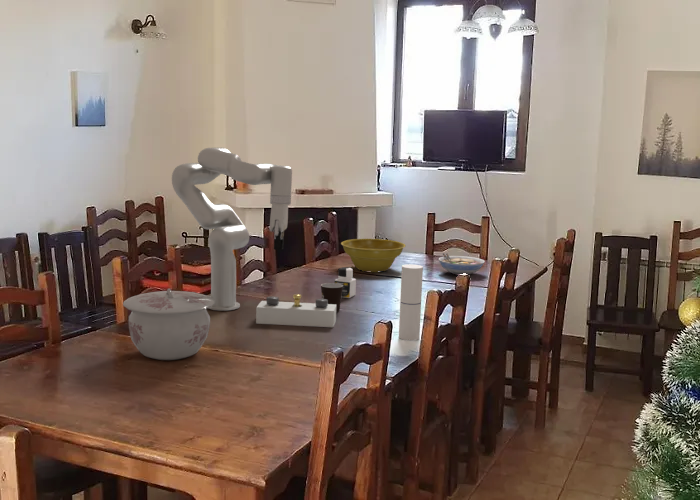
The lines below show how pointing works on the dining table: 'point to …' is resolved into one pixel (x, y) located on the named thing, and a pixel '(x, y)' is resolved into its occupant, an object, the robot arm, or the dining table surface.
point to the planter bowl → (372, 253)
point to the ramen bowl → (461, 264)
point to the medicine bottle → (346, 282)
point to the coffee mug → (332, 293)
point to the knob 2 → (321, 303)
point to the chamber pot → (169, 323)
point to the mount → (296, 314)
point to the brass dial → (296, 300)
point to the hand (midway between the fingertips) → (278, 249)
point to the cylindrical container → (410, 302)
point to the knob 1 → (272, 301)
